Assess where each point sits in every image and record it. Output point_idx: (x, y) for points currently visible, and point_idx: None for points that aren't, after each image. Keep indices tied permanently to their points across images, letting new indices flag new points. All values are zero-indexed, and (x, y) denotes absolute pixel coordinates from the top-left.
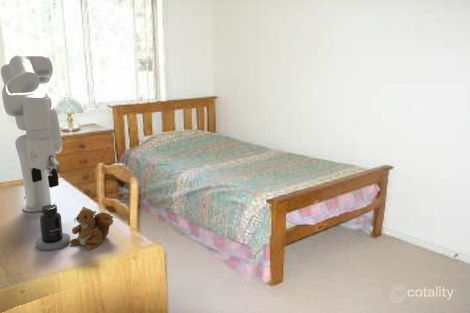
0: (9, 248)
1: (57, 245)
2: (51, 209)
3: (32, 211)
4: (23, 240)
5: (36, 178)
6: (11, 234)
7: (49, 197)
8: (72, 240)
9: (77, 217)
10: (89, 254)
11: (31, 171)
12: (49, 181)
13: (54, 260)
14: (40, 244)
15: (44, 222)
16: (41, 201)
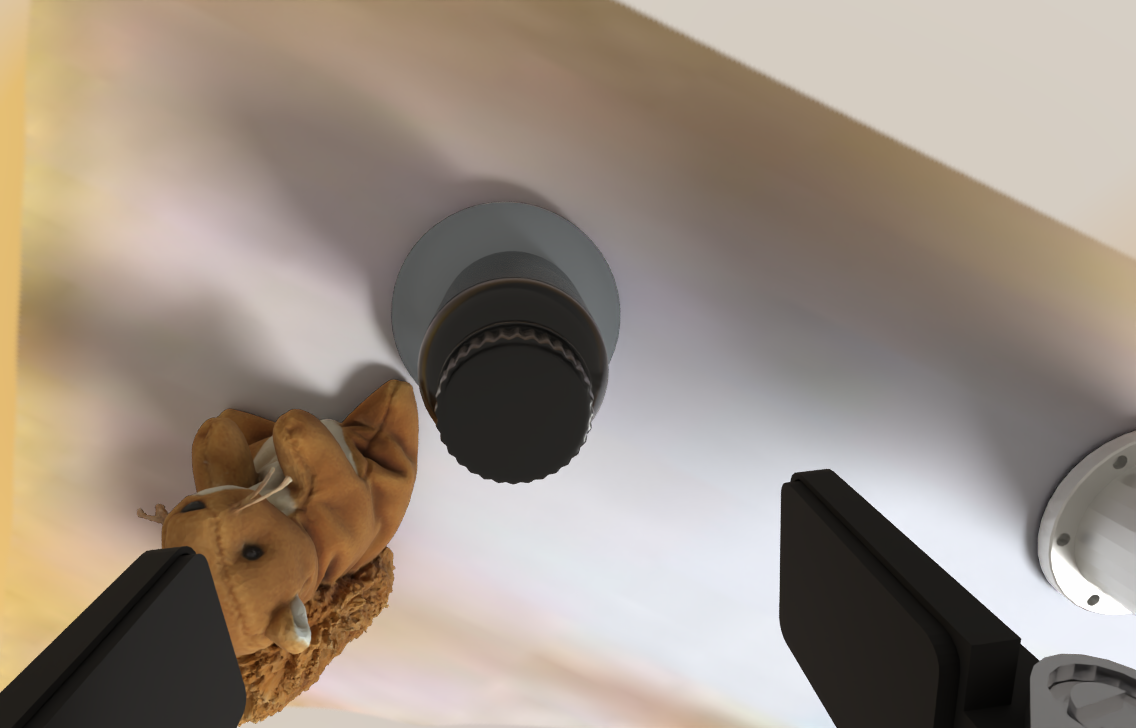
0: (681, 72)
1: (393, 296)
2: (438, 401)
3: (1095, 451)
4: (724, 201)
5: (809, 571)
6: (887, 190)
7: (1128, 607)
8: (383, 398)
9: (195, 509)
10: (171, 389)
11: (989, 634)
12: (53, 650)
13: (251, 195)
14: (499, 223)
15: (463, 289)
16: (1123, 542)
